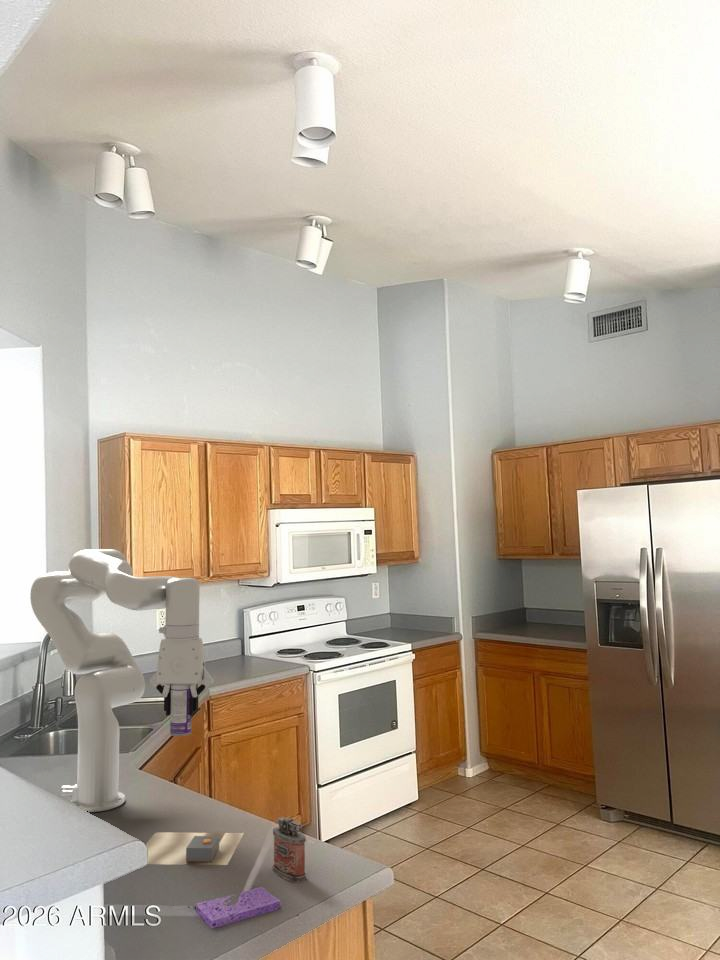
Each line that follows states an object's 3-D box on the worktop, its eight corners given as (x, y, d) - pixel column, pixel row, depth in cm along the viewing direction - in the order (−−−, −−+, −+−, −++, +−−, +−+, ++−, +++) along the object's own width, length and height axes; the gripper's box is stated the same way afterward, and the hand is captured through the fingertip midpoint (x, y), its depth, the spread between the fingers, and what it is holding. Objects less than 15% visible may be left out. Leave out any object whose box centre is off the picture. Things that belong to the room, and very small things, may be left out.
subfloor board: (128, 870, 143) (128, 864, 144) (155, 838, 159) (155, 832, 159) (227, 871, 142) (227, 864, 143) (244, 838, 158) (244, 832, 159)
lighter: (268, 870, 143) (268, 816, 143) (282, 865, 145) (282, 811, 146) (295, 884, 137) (295, 827, 138) (310, 878, 139) (309, 822, 140)
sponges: (195, 915, 127) (195, 903, 127) (263, 895, 134) (263, 884, 134) (211, 932, 121) (211, 920, 121) (281, 911, 128) (281, 899, 128)
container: (182, 730, 172) (183, 663, 173) (195, 733, 169) (196, 665, 171) (165, 734, 169) (166, 666, 170) (178, 737, 166) (179, 668, 167)
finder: (186, 861, 144) (186, 846, 144) (194, 849, 150) (194, 834, 150) (211, 861, 144) (211, 846, 144) (219, 849, 150) (219, 834, 150)
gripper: (139, 634, 168) (138, 718, 166) (215, 634, 167) (214, 718, 165) (150, 630, 175) (149, 710, 173) (222, 630, 174) (222, 710, 173)
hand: (181, 713), depth 169 cm, fingers closed on container, 4 cm apart
